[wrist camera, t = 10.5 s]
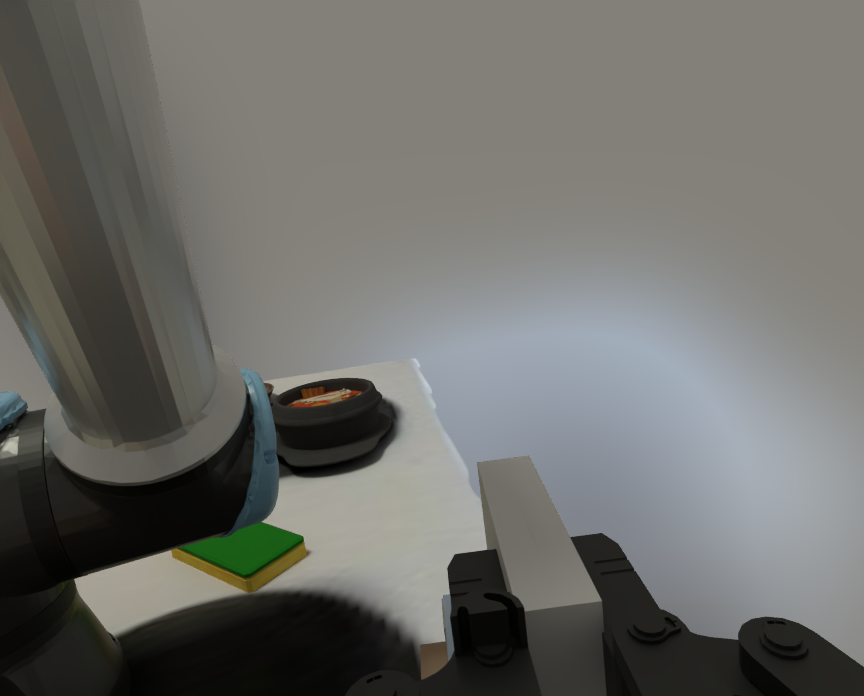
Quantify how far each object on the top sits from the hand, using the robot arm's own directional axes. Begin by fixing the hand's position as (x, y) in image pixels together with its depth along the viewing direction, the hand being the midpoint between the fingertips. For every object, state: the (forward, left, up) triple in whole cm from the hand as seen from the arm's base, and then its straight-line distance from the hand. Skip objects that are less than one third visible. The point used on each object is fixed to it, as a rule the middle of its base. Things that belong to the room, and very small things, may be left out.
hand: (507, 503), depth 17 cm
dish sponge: (-40, -24, -24) cm, 52 cm away
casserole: (-69, -18, -23) cm, 75 cm away
